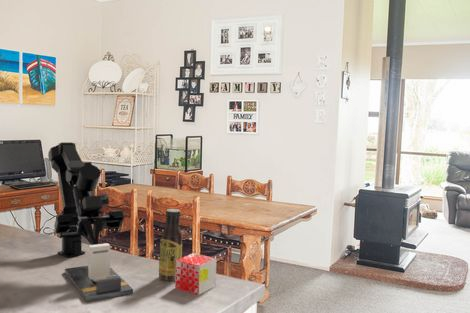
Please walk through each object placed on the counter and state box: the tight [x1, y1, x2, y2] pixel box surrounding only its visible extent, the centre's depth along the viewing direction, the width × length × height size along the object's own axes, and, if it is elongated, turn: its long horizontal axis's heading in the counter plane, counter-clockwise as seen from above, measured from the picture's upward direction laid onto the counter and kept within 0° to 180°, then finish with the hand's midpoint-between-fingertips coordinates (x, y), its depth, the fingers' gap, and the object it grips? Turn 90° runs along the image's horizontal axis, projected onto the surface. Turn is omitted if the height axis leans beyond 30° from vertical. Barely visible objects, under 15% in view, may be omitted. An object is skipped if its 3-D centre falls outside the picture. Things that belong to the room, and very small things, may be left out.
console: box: [64, 265, 134, 303], centre depth 130 cm, size 24×12×4 cm, turn 32°
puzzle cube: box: [174, 252, 217, 295], centre depth 129 cm, size 8×8×8 cm
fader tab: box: [87, 242, 111, 282], centre depth 128 cm, size 3×5×9 cm, turn 122°
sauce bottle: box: [158, 208, 183, 282], centre depth 135 cm, size 6×6×20 cm
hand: (95, 246), depth 131 cm, fingers closed
